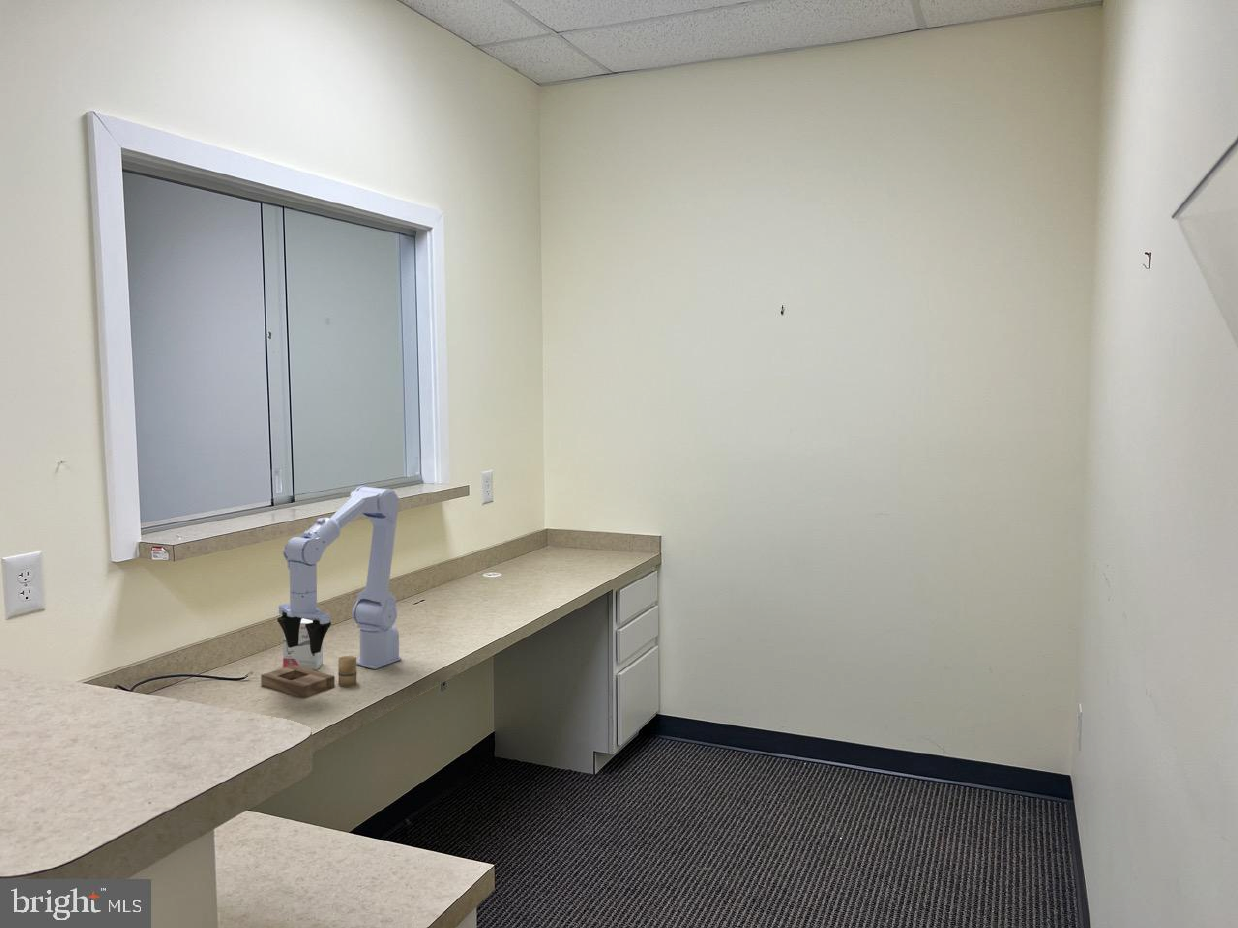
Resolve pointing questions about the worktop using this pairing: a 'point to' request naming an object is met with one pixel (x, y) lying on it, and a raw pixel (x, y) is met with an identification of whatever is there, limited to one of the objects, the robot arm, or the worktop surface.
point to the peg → (347, 671)
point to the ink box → (302, 650)
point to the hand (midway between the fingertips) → (304, 649)
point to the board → (297, 680)
